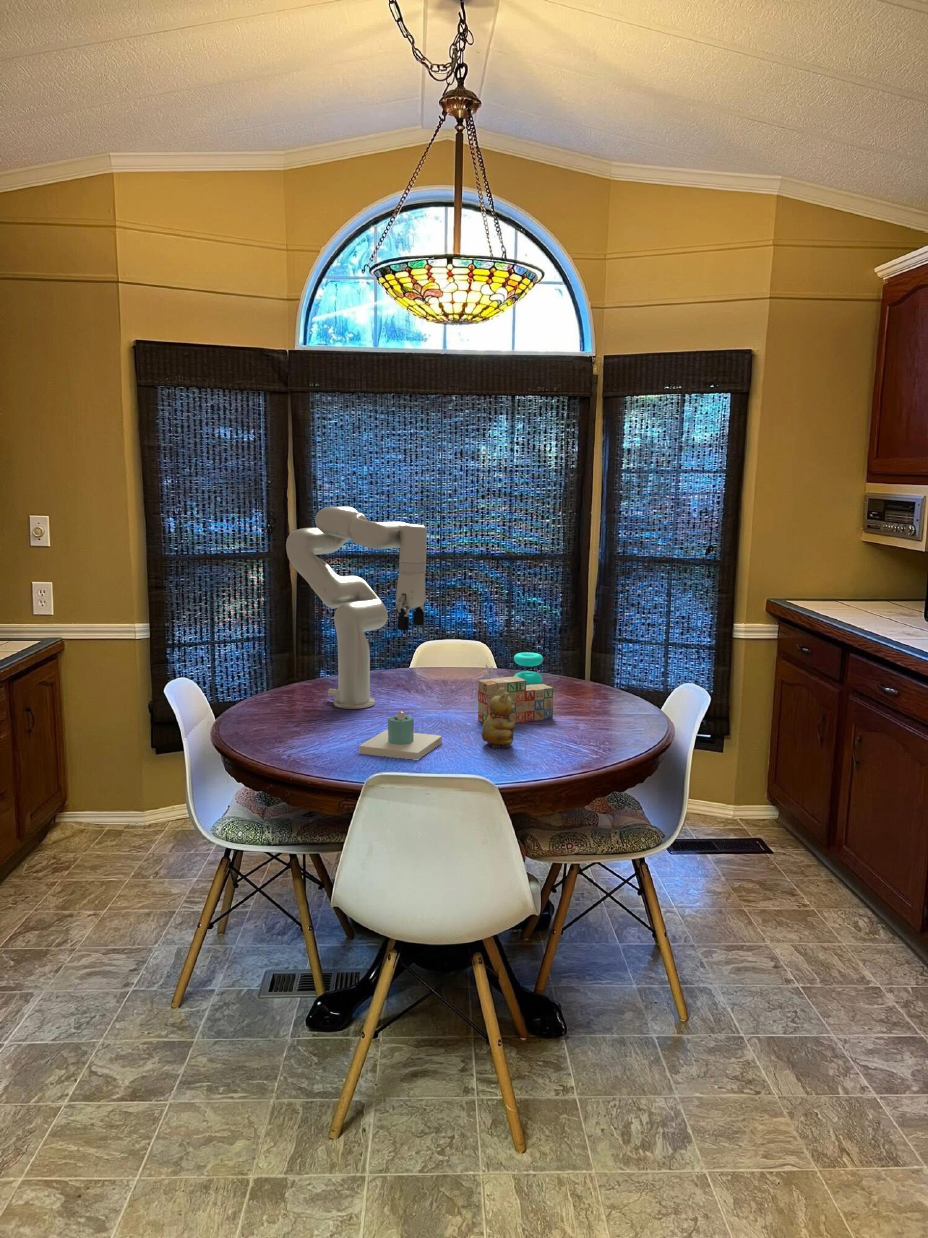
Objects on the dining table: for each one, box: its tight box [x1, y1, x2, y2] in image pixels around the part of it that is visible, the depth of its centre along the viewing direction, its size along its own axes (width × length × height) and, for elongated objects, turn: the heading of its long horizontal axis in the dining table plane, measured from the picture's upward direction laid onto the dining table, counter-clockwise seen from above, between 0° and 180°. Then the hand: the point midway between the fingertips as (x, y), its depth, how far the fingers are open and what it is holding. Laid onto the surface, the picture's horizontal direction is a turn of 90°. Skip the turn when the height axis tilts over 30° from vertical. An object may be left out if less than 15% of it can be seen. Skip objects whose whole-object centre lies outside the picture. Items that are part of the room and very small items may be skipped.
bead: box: [387, 714, 415, 745], centre depth 229 cm, size 6×6×6 cm
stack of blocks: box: [477, 675, 554, 725], centre depth 258 cm, size 21×6×12 cm, turn 114°
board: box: [358, 710, 443, 760], centre depth 229 cm, size 16×16×10 cm
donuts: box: [513, 651, 544, 685], centre depth 305 cm, size 10×10×10 cm
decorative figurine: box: [481, 688, 516, 748], centre depth 233 cm, size 10×8×15 cm
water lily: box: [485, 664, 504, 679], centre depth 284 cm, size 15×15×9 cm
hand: (410, 627), depth 257 cm, fingers open, 9 cm apart
